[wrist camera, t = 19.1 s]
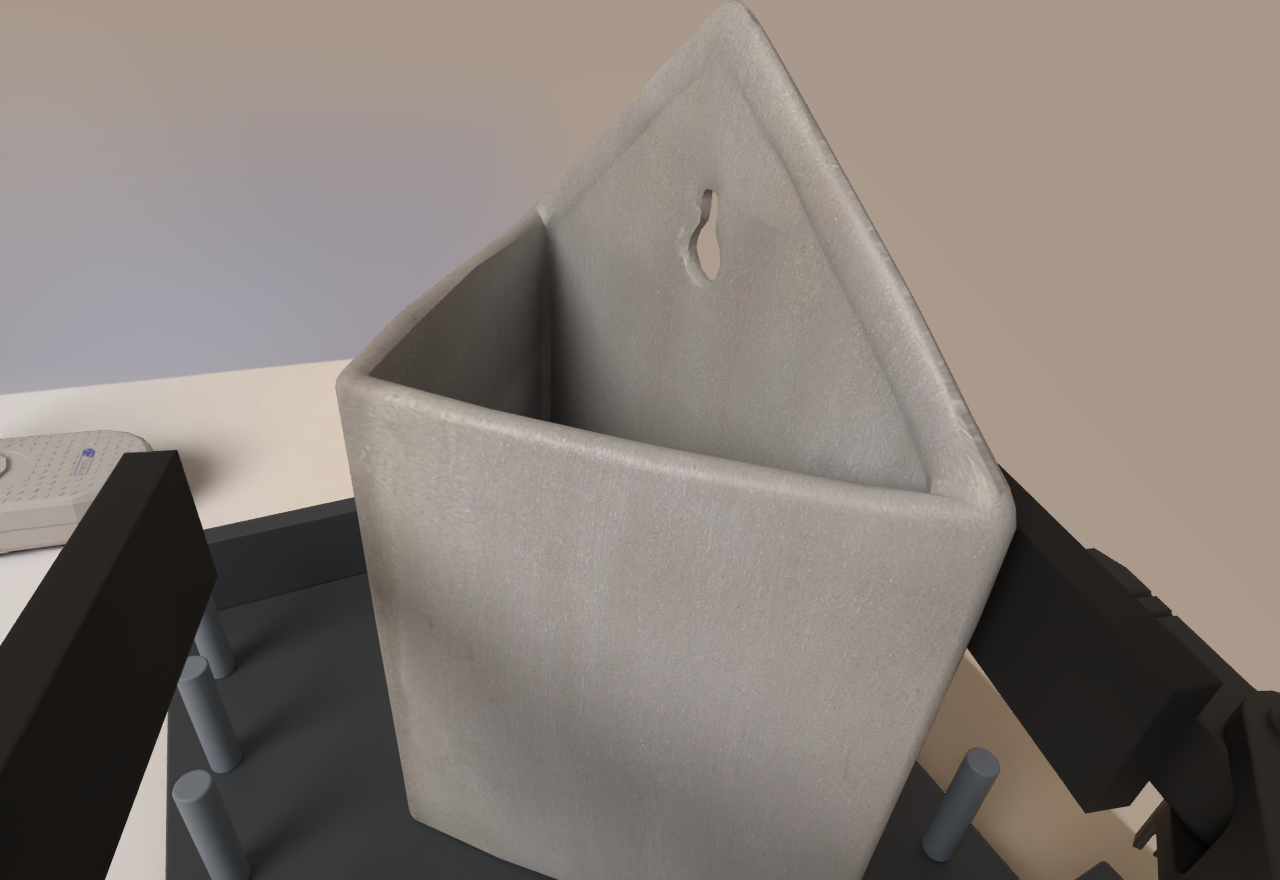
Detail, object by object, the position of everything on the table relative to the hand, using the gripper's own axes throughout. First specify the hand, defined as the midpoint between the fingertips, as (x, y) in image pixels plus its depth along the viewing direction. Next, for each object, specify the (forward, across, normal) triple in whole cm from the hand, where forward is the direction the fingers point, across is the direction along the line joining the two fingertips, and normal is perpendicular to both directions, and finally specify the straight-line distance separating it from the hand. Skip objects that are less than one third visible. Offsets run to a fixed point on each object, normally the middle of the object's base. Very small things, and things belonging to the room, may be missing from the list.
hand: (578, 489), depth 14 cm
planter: (+2, 0, -12) cm, 12 cm away
